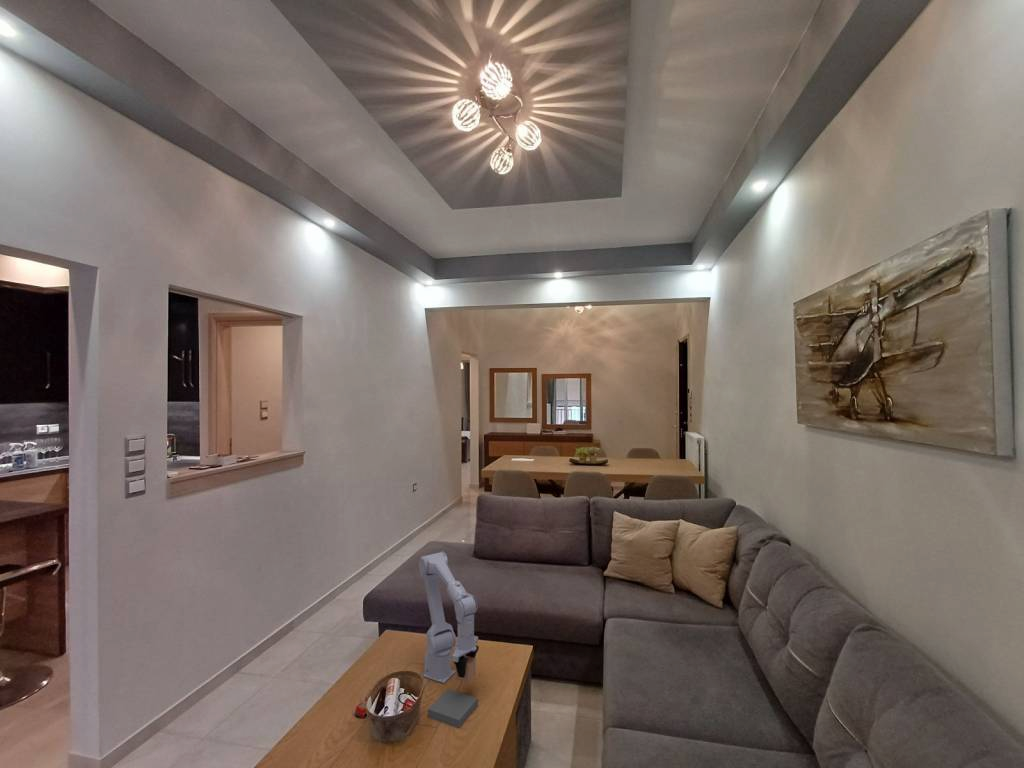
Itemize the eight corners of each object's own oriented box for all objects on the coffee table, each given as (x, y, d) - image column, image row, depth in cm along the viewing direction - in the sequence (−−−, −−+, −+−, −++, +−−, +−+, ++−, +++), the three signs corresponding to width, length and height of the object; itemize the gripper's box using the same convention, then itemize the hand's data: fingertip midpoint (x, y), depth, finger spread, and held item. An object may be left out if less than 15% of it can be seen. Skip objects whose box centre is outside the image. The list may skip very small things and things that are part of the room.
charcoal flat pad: (427, 718, 156) (427, 709, 156) (447, 697, 167) (447, 688, 167) (459, 729, 151) (459, 720, 151) (477, 707, 162) (477, 698, 162)
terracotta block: (455, 679, 165) (456, 661, 165) (463, 671, 169) (463, 654, 169) (468, 683, 163) (468, 665, 163) (475, 675, 167) (475, 658, 167)
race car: (360, 722, 154) (360, 709, 154) (352, 714, 158) (352, 701, 158) (395, 702, 164) (395, 691, 164) (387, 695, 167) (387, 684, 167)
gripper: (465, 645, 158) (464, 686, 158) (485, 626, 171) (485, 664, 171) (446, 640, 161) (446, 681, 161) (468, 621, 174) (468, 659, 174)
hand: (465, 672), depth 166 cm, fingers closed on terracotta block, 5 cm apart
